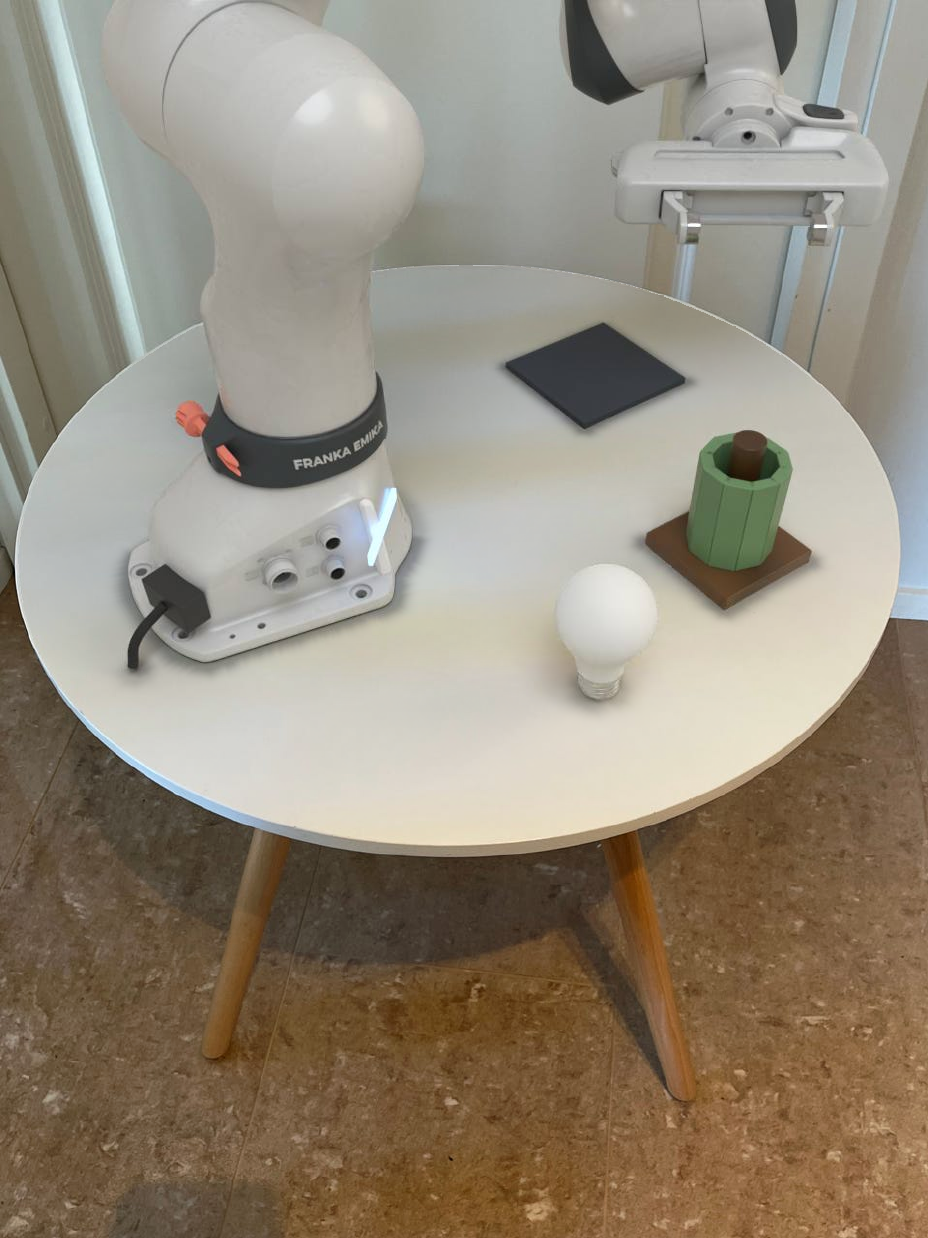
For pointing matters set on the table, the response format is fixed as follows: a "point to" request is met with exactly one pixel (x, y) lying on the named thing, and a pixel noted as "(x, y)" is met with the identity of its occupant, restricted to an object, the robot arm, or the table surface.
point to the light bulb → (605, 624)
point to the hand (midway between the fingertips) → (755, 236)
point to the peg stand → (722, 582)
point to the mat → (594, 374)
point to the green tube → (736, 507)
